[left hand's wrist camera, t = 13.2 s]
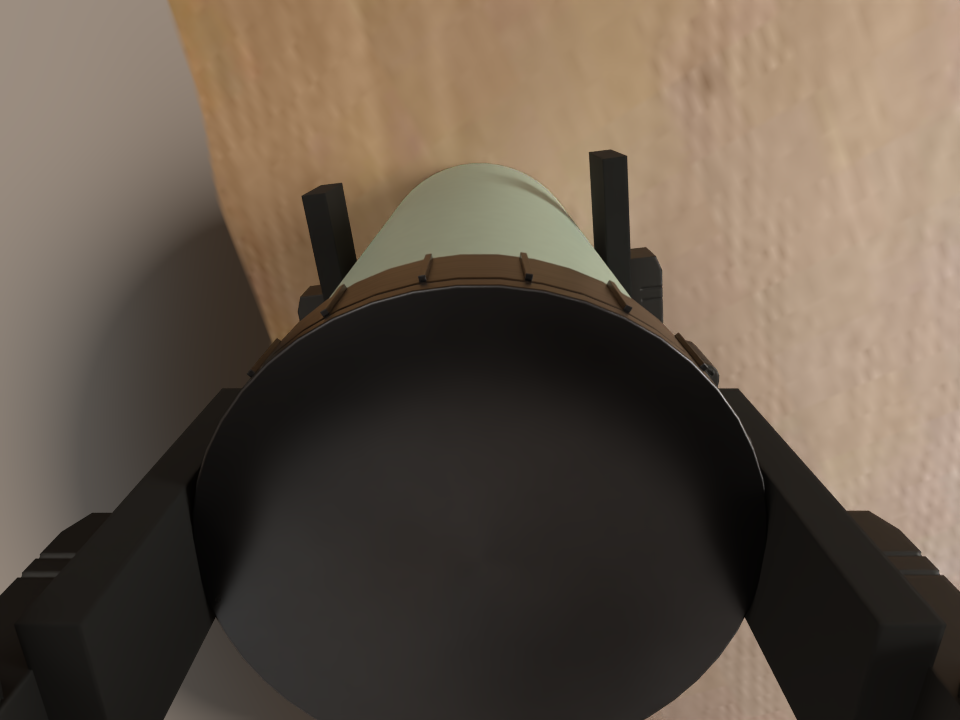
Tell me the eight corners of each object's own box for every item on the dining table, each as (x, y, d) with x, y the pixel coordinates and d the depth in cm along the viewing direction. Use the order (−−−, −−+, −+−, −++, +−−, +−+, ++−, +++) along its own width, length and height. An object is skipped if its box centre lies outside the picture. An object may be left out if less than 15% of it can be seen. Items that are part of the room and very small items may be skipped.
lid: (423, 739, 15) (416, 831, 13) (124, 433, 12) (59, 495, 10) (808, 549, 13) (863, 623, 11) (559, 132, 10) (577, 140, 8)
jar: (455, 388, 32) (421, 794, 13) (342, 238, 29) (102, 483, 11) (613, 290, 30) (829, 600, 11) (508, 120, 27) (568, 168, 9)
